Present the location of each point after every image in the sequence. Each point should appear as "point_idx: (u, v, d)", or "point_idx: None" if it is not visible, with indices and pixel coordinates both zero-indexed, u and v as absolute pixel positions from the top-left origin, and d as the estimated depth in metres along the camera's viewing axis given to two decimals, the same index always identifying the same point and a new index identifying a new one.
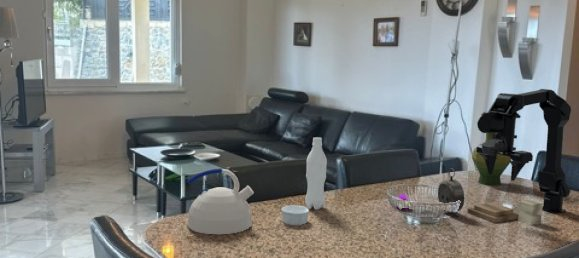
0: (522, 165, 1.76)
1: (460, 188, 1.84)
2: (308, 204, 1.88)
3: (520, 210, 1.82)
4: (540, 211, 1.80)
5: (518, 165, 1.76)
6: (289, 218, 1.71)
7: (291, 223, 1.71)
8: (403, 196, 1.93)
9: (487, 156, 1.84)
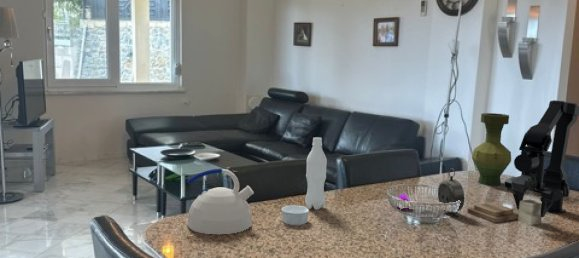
0: (552, 202, 1.76)
1: (460, 188, 1.84)
2: (308, 204, 1.88)
3: (520, 210, 1.82)
4: (540, 211, 1.80)
5: (548, 202, 1.76)
6: (289, 218, 1.71)
7: (291, 223, 1.71)
8: (404, 196, 1.94)
9: (515, 191, 1.84)
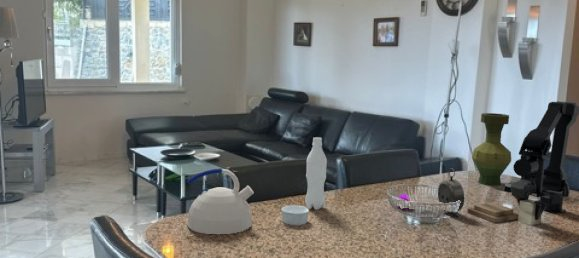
0: (546, 205, 1.78)
1: (460, 188, 1.84)
2: (308, 204, 1.88)
3: (520, 209, 1.82)
4: None
5: (542, 205, 1.78)
6: (289, 218, 1.71)
7: (291, 223, 1.71)
8: (404, 196, 1.94)
9: (520, 197, 1.83)
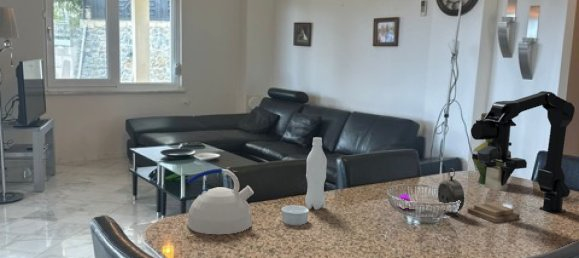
0: (512, 170, 1.82)
1: (460, 188, 1.84)
2: (308, 204, 1.88)
3: (487, 176, 1.86)
4: None
5: (508, 170, 1.82)
6: (289, 219, 1.71)
7: (291, 223, 1.71)
8: (405, 196, 1.94)
9: (487, 164, 1.87)
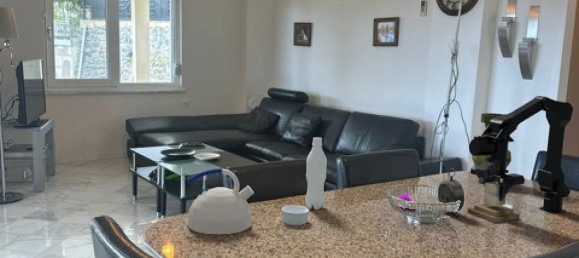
0: (510, 186, 1.83)
1: (460, 188, 1.84)
2: (308, 204, 1.88)
3: (485, 191, 1.87)
4: None
5: (506, 186, 1.83)
6: (289, 218, 1.71)
7: (291, 223, 1.71)
8: (406, 195, 1.94)
9: (485, 179, 1.88)
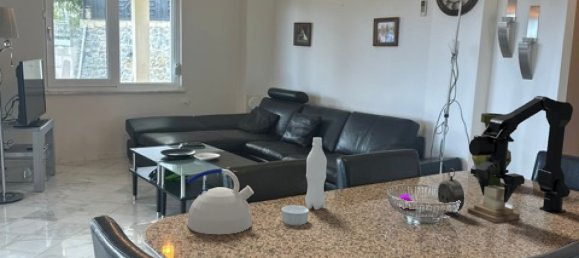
0: (514, 187, 1.81)
1: (460, 188, 1.84)
2: (308, 204, 1.88)
3: (485, 195, 1.87)
4: None
5: (510, 187, 1.81)
6: (289, 219, 1.71)
7: (291, 223, 1.71)
8: (406, 195, 1.94)
9: (481, 178, 1.90)
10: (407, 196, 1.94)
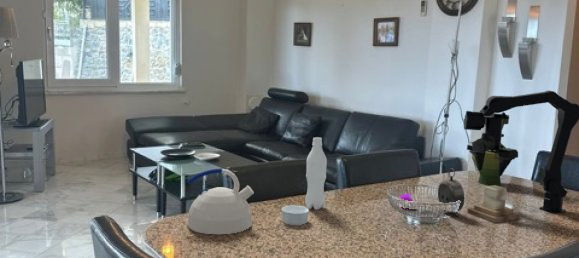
0: (509, 161, 1.92)
1: (460, 188, 1.84)
2: (308, 204, 1.88)
3: (485, 195, 1.87)
4: (504, 196, 1.85)
5: (505, 161, 1.92)
6: (289, 218, 1.71)
7: (291, 223, 1.71)
8: (407, 195, 1.95)
9: (477, 153, 2.01)
10: (408, 196, 1.94)
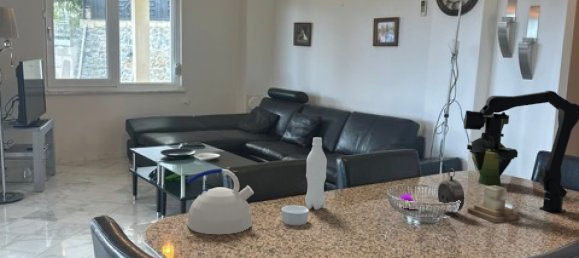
0: (508, 161, 1.93)
1: (460, 188, 1.84)
2: (308, 204, 1.88)
3: (485, 195, 1.87)
4: (504, 196, 1.85)
5: (504, 161, 1.93)
6: (289, 218, 1.71)
7: (291, 223, 1.71)
8: (408, 195, 1.95)
9: (477, 153, 2.01)
10: (408, 196, 1.94)
